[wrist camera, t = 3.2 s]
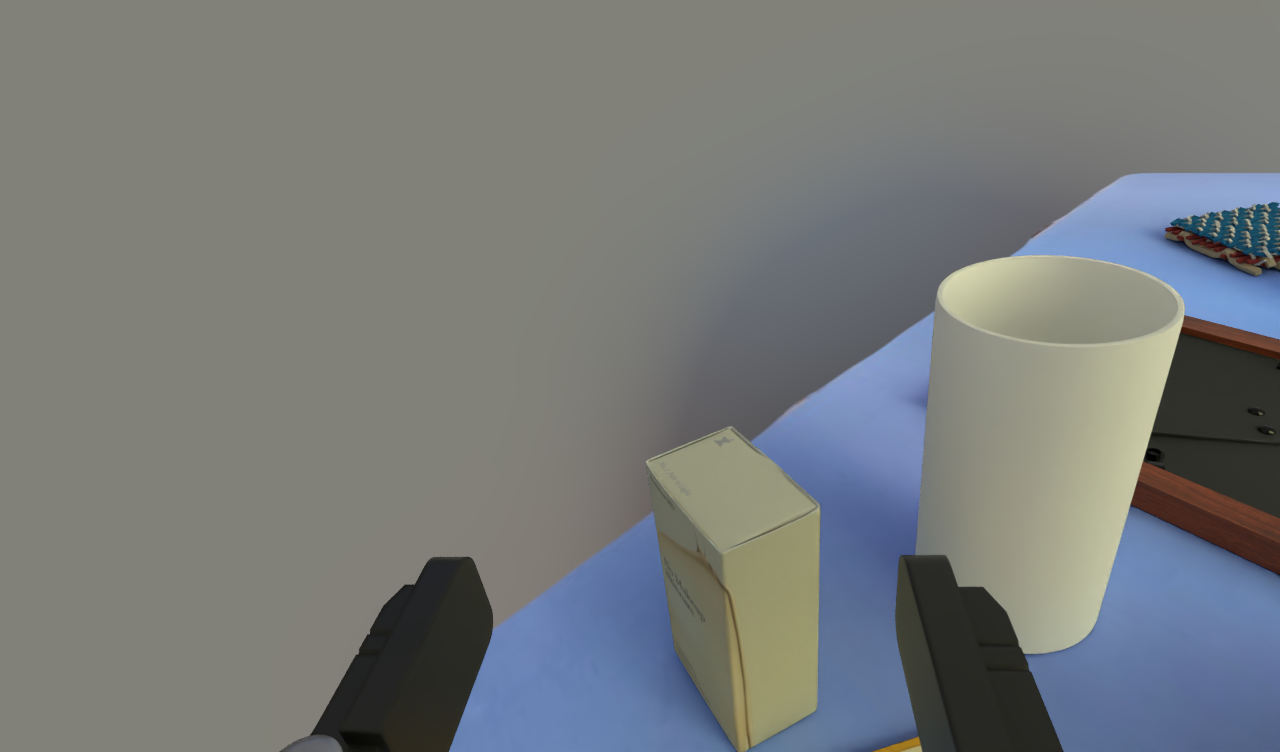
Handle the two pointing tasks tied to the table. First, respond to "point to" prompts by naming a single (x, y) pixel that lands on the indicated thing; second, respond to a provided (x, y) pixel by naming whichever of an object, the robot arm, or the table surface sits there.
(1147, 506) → the picture frame
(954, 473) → the cup
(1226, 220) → the woven mat
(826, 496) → the table surface
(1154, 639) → the table surface
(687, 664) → the cosmetic box
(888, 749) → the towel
